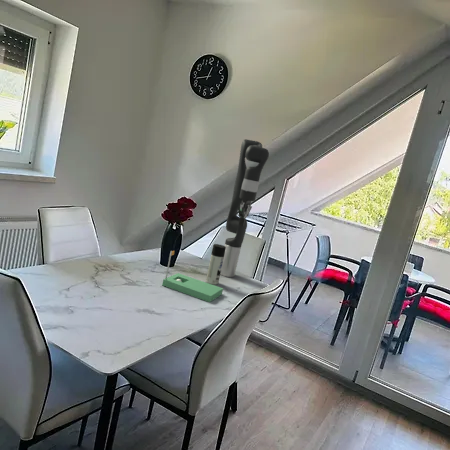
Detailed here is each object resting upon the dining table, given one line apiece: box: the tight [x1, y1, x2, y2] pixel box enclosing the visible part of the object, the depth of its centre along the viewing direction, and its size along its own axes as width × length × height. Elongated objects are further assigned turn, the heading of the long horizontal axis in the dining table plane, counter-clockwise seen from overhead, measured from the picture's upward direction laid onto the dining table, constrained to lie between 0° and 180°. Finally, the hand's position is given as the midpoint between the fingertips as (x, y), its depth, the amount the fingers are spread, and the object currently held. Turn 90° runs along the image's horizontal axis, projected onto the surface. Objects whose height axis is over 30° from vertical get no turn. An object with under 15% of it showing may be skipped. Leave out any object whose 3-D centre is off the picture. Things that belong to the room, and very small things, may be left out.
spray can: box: [205, 243, 226, 286], centre depth 219 cm, size 7×7×20 cm
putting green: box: [161, 250, 224, 303], centre depth 202 cm, size 15×25×17 cm, turn 69°
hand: (241, 225), depth 201 cm, fingers closed
